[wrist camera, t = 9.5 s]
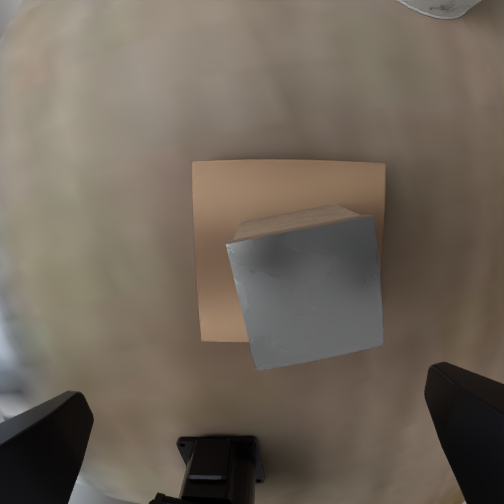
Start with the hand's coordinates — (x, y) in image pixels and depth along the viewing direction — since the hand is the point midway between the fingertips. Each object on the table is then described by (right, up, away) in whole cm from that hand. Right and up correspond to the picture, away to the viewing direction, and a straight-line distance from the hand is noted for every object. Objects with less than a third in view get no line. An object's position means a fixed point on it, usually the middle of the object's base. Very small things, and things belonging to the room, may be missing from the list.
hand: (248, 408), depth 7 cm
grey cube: (+2, +3, +8) cm, 9 cm away
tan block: (+2, +4, +12) cm, 13 cm away
